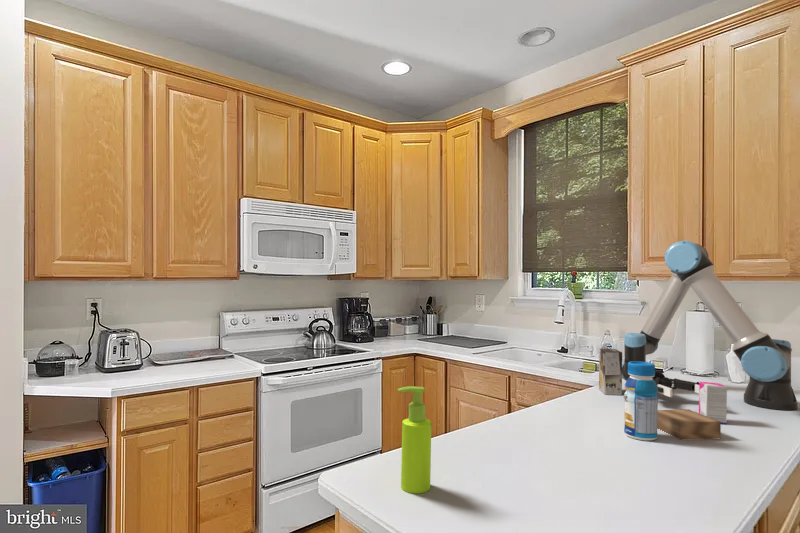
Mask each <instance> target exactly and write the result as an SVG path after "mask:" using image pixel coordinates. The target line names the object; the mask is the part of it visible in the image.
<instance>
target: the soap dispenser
mask: <svg viewBox="0 0 800 533" xmlns="http://www.w3.org/2000/svg"><path fill="white" fill-rule="evenodd" d="M397 392H399V393H400V394H401V393H406V392H412V394H413V395H412V401H411V402H410V403H408V417H407V418H404V419H403V420H402V424H401V428H402V429H401V464H400V467H401V469H400V470H401V472H400V474H401V475H400V478H401V479H400V488H401V489H402V491H404V492H406V493H408V494H409V493H410V494H415V495H416V494H423V493H427V492H428V491H430V490H431V469H432V468H431V467H432V464H431V461H432V460H431V459H432V420H430V419H428V418H426V407H427V406H426V404H425V403H424V402H422V400H423V399H422V396H423V395H422V393H425V392H426V389H425V387H424V386H415V385H413V386H409V385H408V386H403V387H398V388H397Z"/></svg>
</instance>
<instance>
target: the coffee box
mask: <svg viewBox="0 0 800 533" xmlns="http://www.w3.org/2000/svg"><path fill="white" fill-rule="evenodd" d="M598 352H599V353H598V357H599V358H598V361H599V362H598V379H599V380H598V390H599V391H600V392H602V393H603V394H604V395H609V396H610V395H611V396H622V395H623V378H622V364H623V352H622V351H620V350H618V349H615V348H599V350H598Z"/></svg>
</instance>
